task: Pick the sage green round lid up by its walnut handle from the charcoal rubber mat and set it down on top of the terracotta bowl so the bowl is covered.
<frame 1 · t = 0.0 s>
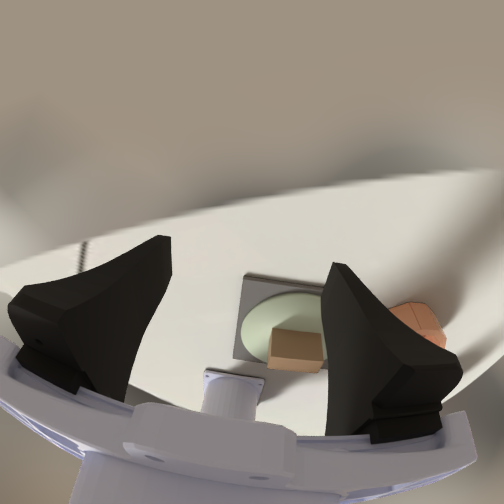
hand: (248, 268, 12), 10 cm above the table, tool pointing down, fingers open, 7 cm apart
mat: (294, 329, 28), on the table
lid: (294, 332, 27), resting on mat
bowl: (399, 332, 27), on the table
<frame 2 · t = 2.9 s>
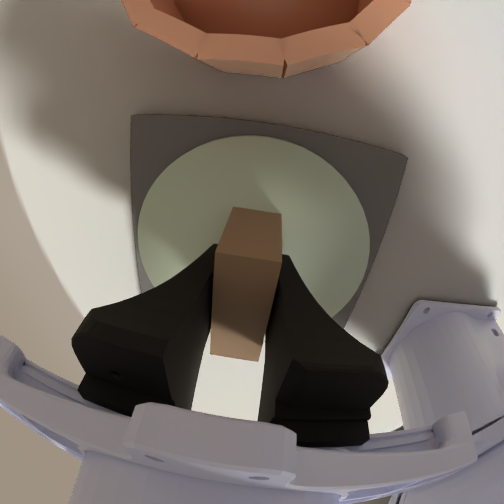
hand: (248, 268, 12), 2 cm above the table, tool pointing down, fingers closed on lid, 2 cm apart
mat: (252, 248, 13), on the table
lid: (251, 253, 13), resting on mat, touching gripper
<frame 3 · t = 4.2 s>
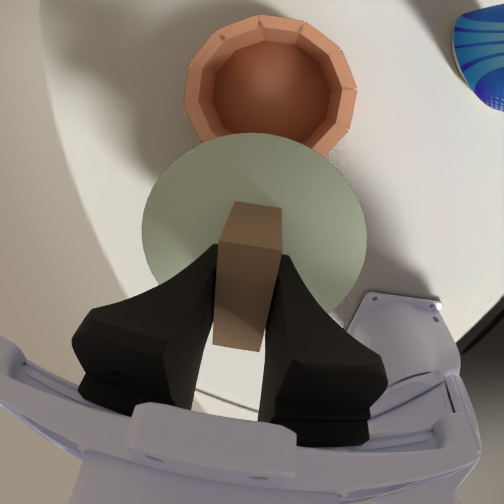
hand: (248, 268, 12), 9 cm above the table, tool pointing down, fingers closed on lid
lid: (252, 248, 13), point 7 cm above the table, touching gripper
bowl: (271, 93, 16), on the table
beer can: (480, 60, 11), on the table
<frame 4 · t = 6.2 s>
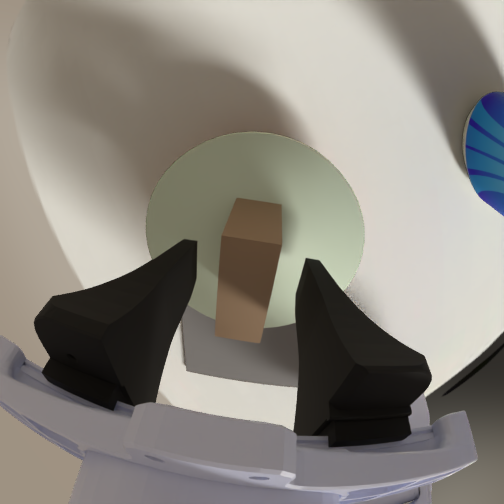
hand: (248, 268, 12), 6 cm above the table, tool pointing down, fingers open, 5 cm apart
mat: (249, 343, 24), on the table
lid: (253, 242, 14), point 4 cm above the table, touching bowl
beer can: (492, 145, 13), on the table
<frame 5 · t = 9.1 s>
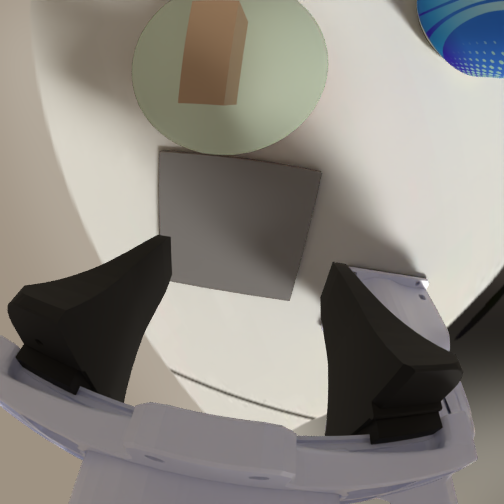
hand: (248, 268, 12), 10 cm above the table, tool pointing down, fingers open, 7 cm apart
mat: (231, 230, 22), on the table
lid: (225, 62, 12), point 4 cm above the table, touching bowl
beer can: (451, 30, 11), on the table
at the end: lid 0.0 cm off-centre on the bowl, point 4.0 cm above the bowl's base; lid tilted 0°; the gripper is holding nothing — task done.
